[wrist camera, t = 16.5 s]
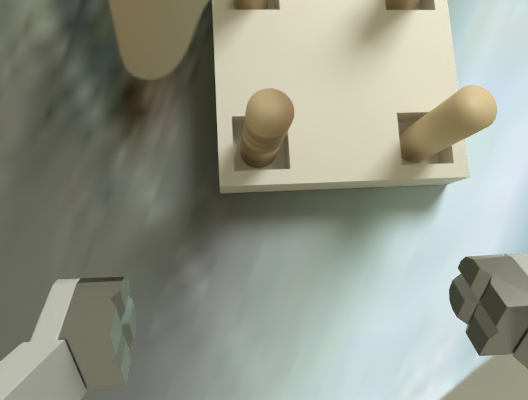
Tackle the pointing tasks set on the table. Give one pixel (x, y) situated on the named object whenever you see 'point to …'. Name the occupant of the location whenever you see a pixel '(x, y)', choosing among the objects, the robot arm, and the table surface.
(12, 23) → the table surface
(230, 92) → the stool seat
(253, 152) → the stool leg
